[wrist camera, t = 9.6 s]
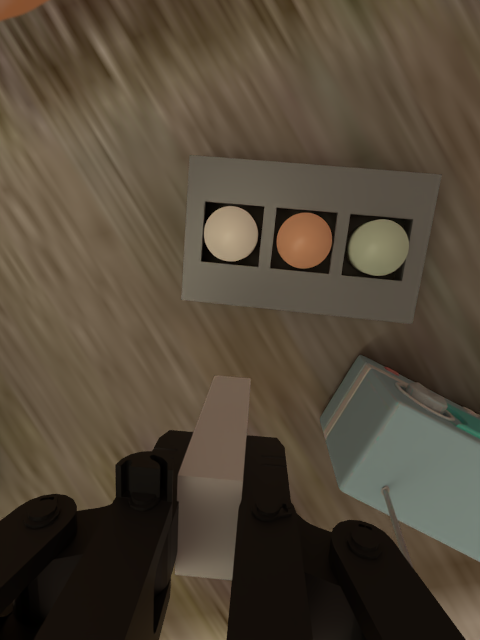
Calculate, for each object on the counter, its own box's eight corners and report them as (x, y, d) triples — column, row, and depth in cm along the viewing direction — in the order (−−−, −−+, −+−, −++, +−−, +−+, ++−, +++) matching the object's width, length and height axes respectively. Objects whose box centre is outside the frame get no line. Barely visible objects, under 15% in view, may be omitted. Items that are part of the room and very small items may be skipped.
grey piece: (191, 293, 36) (181, 299, 32) (199, 165, 33) (189, 154, 29) (396, 315, 34) (412, 324, 30) (420, 183, 32) (441, 174, 28)
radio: (503, 414, 35) (790, 620, 16) (451, 483, 37) (648, 743, 18) (362, 340, 35) (476, 458, 16) (316, 414, 37) (367, 601, 18)
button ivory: (207, 257, 32) (202, 258, 30) (211, 207, 31) (205, 203, 29) (255, 262, 32) (254, 263, 29) (260, 211, 31) (260, 208, 29)
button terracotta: (273, 264, 32) (273, 265, 29) (279, 213, 31) (280, 210, 28) (323, 269, 31) (327, 271, 29) (330, 217, 31) (335, 215, 28)
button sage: (341, 271, 31) (347, 273, 29) (349, 219, 30) (356, 216, 28) (393, 275, 31) (403, 278, 29) (402, 223, 30) (413, 221, 28)
